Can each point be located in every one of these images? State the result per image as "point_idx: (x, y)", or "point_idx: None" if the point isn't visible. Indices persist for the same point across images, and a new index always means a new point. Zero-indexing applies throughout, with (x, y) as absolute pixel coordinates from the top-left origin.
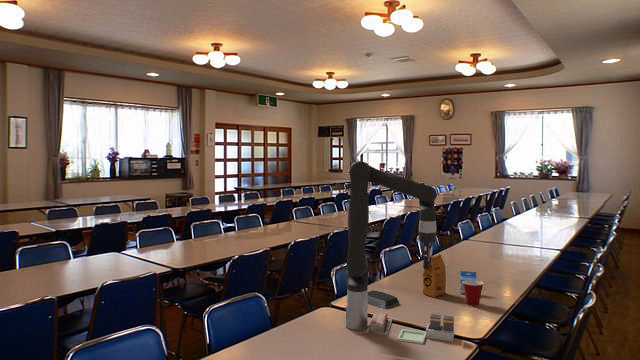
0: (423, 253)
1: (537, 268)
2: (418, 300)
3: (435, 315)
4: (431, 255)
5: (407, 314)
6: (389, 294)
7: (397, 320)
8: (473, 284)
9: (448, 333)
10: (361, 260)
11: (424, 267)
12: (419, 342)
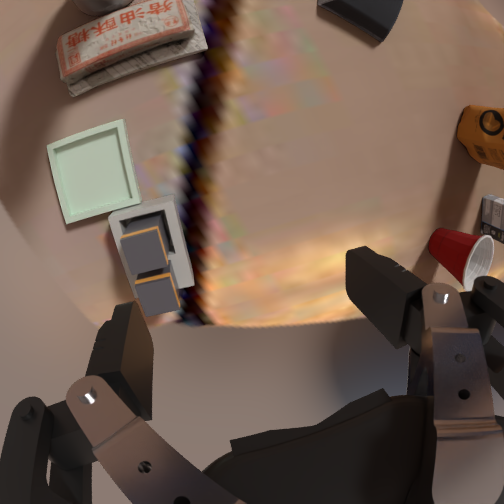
0: (8, 494)
1: None
2: (427, 96)
3: (147, 251)
4: (418, 354)
5: (303, 79)
6: (400, 8)
7: (227, 63)
8: (464, 276)
9: (130, 285)
10: None
11: (103, 329)
12: (64, 212)
